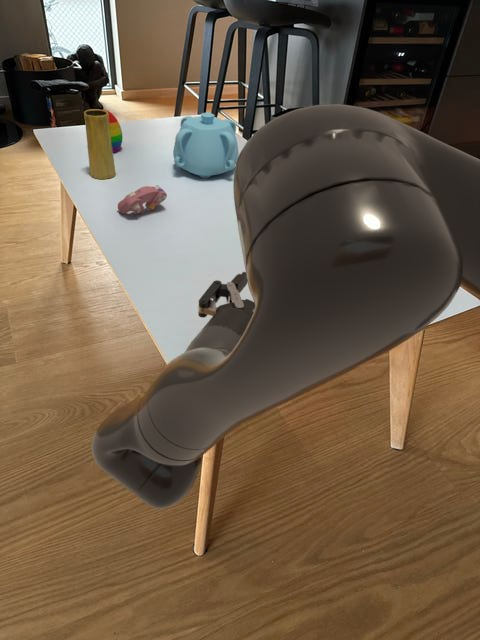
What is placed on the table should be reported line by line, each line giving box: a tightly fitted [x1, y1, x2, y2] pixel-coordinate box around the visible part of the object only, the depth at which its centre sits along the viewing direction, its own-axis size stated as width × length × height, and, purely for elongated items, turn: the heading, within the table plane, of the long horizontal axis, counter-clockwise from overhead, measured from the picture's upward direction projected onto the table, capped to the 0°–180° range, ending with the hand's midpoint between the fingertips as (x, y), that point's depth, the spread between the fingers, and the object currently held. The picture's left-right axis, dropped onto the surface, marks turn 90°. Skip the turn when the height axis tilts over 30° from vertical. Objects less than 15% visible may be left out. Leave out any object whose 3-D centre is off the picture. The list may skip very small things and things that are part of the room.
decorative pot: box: [172, 112, 240, 179], centre depth 116 cm, size 16×16×14 cm
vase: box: [83, 108, 117, 180], centre depth 108 cm, size 6×6×14 cm
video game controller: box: [117, 184, 168, 215], centre depth 98 cm, size 10×5×7 cm, turn 132°
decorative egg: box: [104, 109, 123, 153], centre depth 122 cm, size 8×8×10 cm
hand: (271, 285), depth 68 cm, fingers open, 8 cm apart
